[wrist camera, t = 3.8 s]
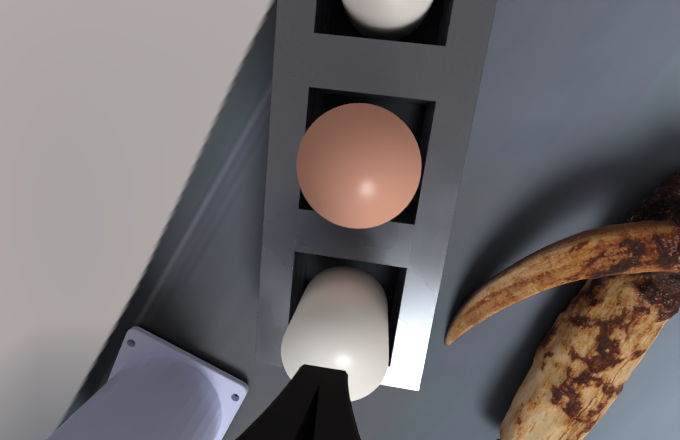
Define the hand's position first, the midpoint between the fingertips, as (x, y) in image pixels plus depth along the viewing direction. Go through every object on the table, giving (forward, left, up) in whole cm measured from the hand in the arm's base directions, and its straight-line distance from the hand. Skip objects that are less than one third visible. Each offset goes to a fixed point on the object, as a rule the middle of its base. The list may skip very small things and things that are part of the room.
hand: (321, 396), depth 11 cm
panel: (+6, +2, -10) cm, 12 cm away
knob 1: (0, 0, -7) cm, 7 cm away
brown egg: (+6, +2, -7) cm, 9 cm away
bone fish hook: (+3, -10, -10) cm, 15 cm away
